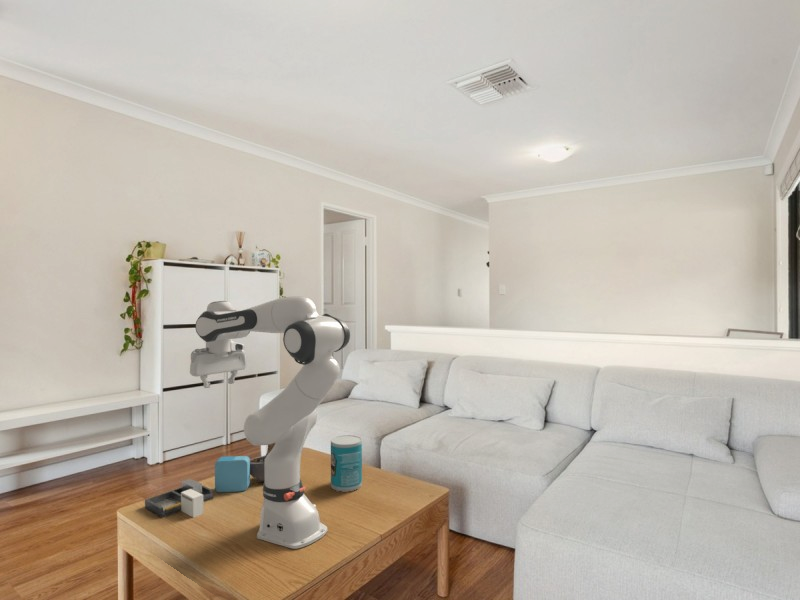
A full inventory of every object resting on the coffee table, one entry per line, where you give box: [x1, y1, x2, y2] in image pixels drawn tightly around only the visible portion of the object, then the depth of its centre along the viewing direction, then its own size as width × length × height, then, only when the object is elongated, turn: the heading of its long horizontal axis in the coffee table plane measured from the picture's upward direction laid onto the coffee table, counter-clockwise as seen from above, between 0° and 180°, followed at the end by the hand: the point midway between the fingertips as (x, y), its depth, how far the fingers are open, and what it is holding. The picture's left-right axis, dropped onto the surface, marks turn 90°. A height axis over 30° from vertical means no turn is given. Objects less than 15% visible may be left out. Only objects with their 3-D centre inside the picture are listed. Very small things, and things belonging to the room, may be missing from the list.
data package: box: [214, 455, 251, 493], centre depth 174 cm, size 12×4×12 cm, turn 96°
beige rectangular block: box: [180, 489, 204, 518], centre depth 156 cm, size 8×4×6 cm, turn 54°
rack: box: [144, 478, 214, 519], centre depth 163 cm, size 12×18×6 cm, turn 143°
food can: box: [330, 434, 363, 493], centre depth 177 cm, size 12×12×18 cm
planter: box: [250, 443, 275, 483], centre depth 184 cm, size 15×17×20 cm
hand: (219, 385), depth 162 cm, fingers open, 8 cm apart
